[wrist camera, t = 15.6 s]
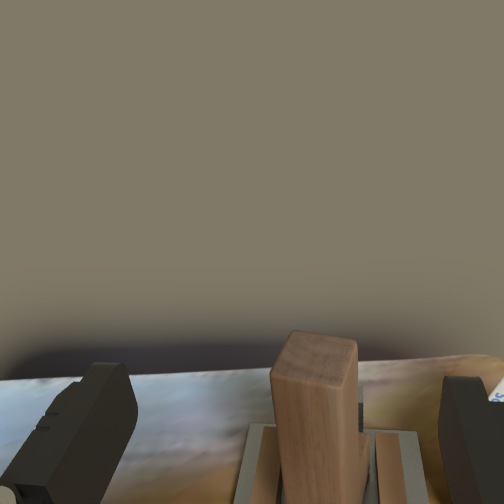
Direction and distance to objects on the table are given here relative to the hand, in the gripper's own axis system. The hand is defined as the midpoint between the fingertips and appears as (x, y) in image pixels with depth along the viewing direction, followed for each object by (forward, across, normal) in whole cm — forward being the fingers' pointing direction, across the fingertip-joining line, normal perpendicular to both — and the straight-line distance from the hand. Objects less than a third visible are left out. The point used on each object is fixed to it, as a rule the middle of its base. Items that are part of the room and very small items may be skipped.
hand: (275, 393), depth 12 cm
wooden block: (+15, -1, +29) cm, 33 cm away
